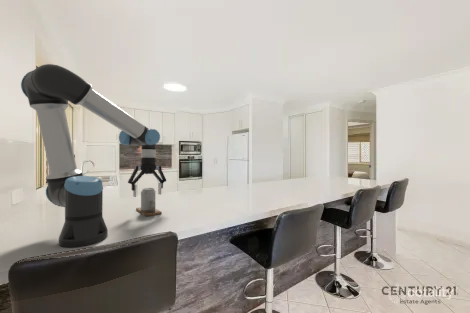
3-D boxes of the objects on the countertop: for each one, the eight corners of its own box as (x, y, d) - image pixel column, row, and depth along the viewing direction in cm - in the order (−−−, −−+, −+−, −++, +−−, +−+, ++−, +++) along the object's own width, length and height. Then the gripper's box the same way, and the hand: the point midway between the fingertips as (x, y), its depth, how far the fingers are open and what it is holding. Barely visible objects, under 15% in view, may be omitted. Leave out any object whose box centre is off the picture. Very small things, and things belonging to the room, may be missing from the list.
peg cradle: (161, 214, 116) (161, 200, 116) (146, 216, 111) (146, 202, 111) (150, 208, 129) (150, 196, 129) (136, 210, 124) (136, 197, 124)
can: (147, 212, 115) (147, 190, 115) (138, 210, 119) (137, 188, 118) (158, 209, 122) (158, 188, 122) (149, 207, 125) (149, 187, 125)
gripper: (167, 157, 131) (166, 192, 131) (122, 156, 115) (121, 196, 114) (172, 157, 125) (171, 194, 125) (126, 156, 109) (125, 198, 109)
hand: (147, 195), depth 120 cm, fingers open, 13 cm apart
